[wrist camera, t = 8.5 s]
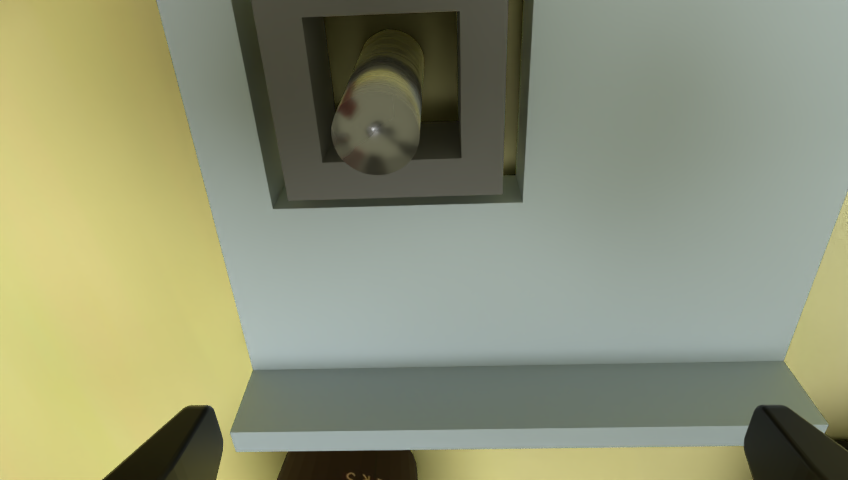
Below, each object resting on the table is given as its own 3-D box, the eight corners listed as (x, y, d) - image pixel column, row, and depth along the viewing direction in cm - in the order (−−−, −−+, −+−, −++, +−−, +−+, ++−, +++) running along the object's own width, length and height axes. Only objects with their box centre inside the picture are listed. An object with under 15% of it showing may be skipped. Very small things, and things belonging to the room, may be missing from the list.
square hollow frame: (498, -57, 17) (509, -45, 14) (494, 153, 20) (502, 194, 18) (273, -47, 17) (245, -33, 14) (306, 159, 20) (288, 200, 18)
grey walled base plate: (903, -107, 16) (1072, -98, 12) (752, 344, 24) (819, 444, 20) (168, -74, 17) (76, -55, 12) (270, 353, 25) (236, 452, 21)
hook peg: (423, 27, 18) (417, 90, 13) (425, 92, 19) (421, 174, 14) (357, 30, 18) (325, 93, 13) (363, 95, 19) (337, 176, 14)
